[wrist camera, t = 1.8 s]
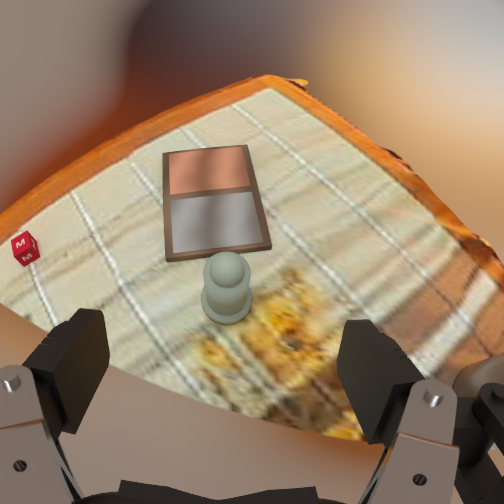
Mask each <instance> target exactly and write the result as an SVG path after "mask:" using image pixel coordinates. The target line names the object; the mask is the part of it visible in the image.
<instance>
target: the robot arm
mask: <svg viewBox="0 0 504 504" xmlns="http://www.w3.org/2000/svg"><path fill="white" fill-rule="evenodd" d="M109 359H110V352H109V345H108V339H107V333H106V327H105V321H104V315H103V313H102V311H101V310H94V309H84V308H80V309H78V310H77V312H76V313H75V314H74V315H73V316H72V317H71V318H70V320H69V321H64V322H63V323H61V324H59V325H57V326H56V327H54V328H53V329H52V330H51V332H50V333H49V334H48V335H47V337H45V338H44V340H43V341H42V342H41V344H39V345H38V346H37V348H36V349H35V350H34V351H33V352H32V354H31V355H30V356H29V357H28V358H27V359H26V361H25V362H24V363H23V364H22V365H9V366H5V367H2V368H0V504H345V503H341V502H338V501H334V500H328V499H320V498H318V496H317V491H316V488H315V486H314V487H304V488H293V489H278V490H266V491H262V492H258V493H253V494H249V495H244V496H239V497H234V498H229V499H223V500H214V499H209V498H205V497H201V496H197V495H194V494H190V493H187V492H183V491H180V490H177V489H173V488H170V487H167V486H158V485H151V484H143V483H138V482H132V481H126V480H121V483H120V487H119V491H118V492H107V493H100V494H96V495H91V496H88V497H84V495H83V493H82V491H81V489H80V487H79V485H78V483H77V481H76V479H75V477H74V474H73V472H72V470H71V467H70V465H69V463H68V460H67V458H66V455H65V453H64V450H63V447H62V445H61V442H60V440H59V438H58V437H59V436H60V433H61V431H63V432H67V433H71V434H76V432H77V430H78V427H79V425H80V423H81V421H82V419H83V417H84V415H85V413H86V411H87V408H88V406H89V404H90V402H91V400H92V398H93V396H94V394H95V392H96V390H97V388H98V386H99V384H100V382H101V380H102V378H103V376H104V374H105V372H106V370H107V368H108V365H109ZM337 374H338V377H339V379H340V381H341V384H342V386H343V388H344V390H345V392H346V395H347V397H348V399H349V401H350V403H351V406H352V408H353V410H354V412H355V415H356V417H357V419H358V421H359V424H360V426H361V428H362V430H363V433H364V435H365V437H366V439H367V442H368V444H369V445H371V444H377V443H382V442H383V444H384V446H385V448H384V450H383V452H382V454H381V456H380V458H379V461H378V463H377V465H376V467H375V470H374V472H373V474H372V477H371V479H370V480H369V483H368V485H367V487H366V489H365V491H364V493H363V495H362V497H361V499H360V500H359V502H358V504H450V500H451V496H452V491H453V486H454V485H455V487H456V489H457V491H458V493H459V495H460V497H461V499H462V501H463V503H464V504H504V476H503V477H502V476H501V474H500V472H499V471H498V469H497V468H496V466H495V464H494V463H493V461H492V460H491V458H490V456H489V455H488V453H487V452H488V451H489V449H490V448H491V446H492V445H493V443H494V442H495V444H496V445H497V447H498V448H499V450H500V451H501V452H502V454H503V456H504V353H501V354H499V355H496V356H494V357H491V358H488V359H485V360H483V361H480V362H477V363H474V364H472V365H469V366H467V367H466V368H464V369H463V370H462V371H461V372H460V374H459V375H458V377H457V378H456V380H455V383H454V386H453V389H452V388H451V387H449V386H448V385H446V384H444V383H442V382H440V381H436V380H426V379H425V378H424V377H423V375H422V374H421V373H420V372H419V370H418V369H417V368H416V366H415V365H414V364H413V363H412V361H411V360H410V359H409V358H407V355H406V354H405V353H404V351H402V349H401V348H400V346H399V345H398V344H397V343H396V341H395V340H393V339H392V338H390V337H389V336H387V335H386V334H384V333H380V332H379V331H378V329H377V328H376V327H375V326H374V324H373V323H372V322H371V321H370V320H369V319H364V320H347V321H346V323H345V326H344V330H343V335H342V340H341V344H340V349H339V353H338V358H337Z"/></svg>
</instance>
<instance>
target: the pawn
mask: <svg viewBox="0 0 504 504" xmlns="http://www.w3.org/2000/svg"><path fill="white" fill-rule="evenodd" d="M250 274H251V272H250V267H249V264H248V263H247V261H246V260H245V259H244V258H243V257H242V256H240V255H239V254H236V253H234V252H220V253H217V254H215V255H213V256H212V257H210V258H209V259H208V261H207V262H206V264H205V266H204V270H203V276H204V284H205V286H204V288H203V290H202V294H201V301H202V306H203V309H204V312H205V314H206V315H207V316H208V317H209V318H210V319H211V320H212V321H214V322H216V323H218V324H222V325H231V324H235V323H237V322H239V321H241V320H242V319H243V318H244V317H245V316H246V315H247V313H248V312H249V309H250V306H251V300H252V295H251V291H250V288H249V281H250Z"/></svg>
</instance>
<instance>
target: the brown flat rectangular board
mask: <svg viewBox="0 0 504 504" xmlns="http://www.w3.org/2000/svg"><path fill="white" fill-rule="evenodd" d="M163 213H164V237H165V255H166V261H167V262H172V261H180V260H188V259H196V258H204V257H212V256H213V255H215V254H217V253H220V252H234V253H236V254H237V253H245V252H253V251H262V250H270V249H271V247H272V243H271V239H270V235H269V231H268V226H267V222H266V218H265V214H264V210H263V206H262V202H261V198H260V194H259V190H258V186H257V182H256V178H255V174H254V170H253V166H252V162H251V158H250V154H249V150H248V146H247V145H235V146H223V147H212V148H202V149H192V150H183V151H175V152H167V153H163Z"/></svg>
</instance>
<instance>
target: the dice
mask: <svg viewBox="0 0 504 504" xmlns="http://www.w3.org/2000/svg"><path fill="white" fill-rule="evenodd" d="M11 244H12V249H13V255H14V257H15V258H16V259H17V260H18V261H19V262H20V263H21V264H22V265H23V266H26V265H28V264H29V263H31V262H33V261H34V260H36V259H38V258H39V257H40V255H39V251H38V247H37V242H36V240H35V239H34V238H33V237H32V236H31V234H30V233H29V232H28V231H25V232H23V233H22V234H20V235H19V236H17V237H15V238H14V239H12V240H11Z"/></svg>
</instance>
